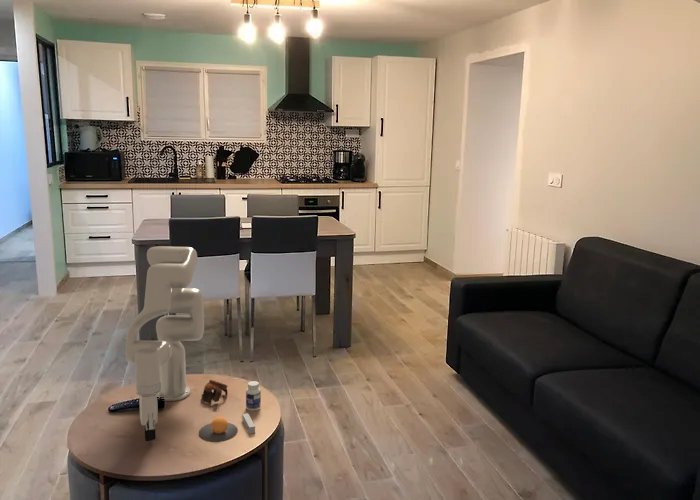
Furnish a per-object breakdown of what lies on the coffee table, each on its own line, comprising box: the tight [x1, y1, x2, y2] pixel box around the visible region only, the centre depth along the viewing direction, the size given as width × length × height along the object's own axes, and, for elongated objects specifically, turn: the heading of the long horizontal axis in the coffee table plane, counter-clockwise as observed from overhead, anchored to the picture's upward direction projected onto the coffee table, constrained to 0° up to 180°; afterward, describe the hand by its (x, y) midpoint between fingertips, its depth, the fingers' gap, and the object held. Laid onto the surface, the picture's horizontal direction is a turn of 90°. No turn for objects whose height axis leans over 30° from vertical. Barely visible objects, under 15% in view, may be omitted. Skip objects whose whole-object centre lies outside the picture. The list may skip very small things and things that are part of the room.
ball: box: [211, 416, 229, 434], centre depth 195 cm, size 6×6×6 cm
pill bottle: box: [245, 380, 262, 411], centre depth 213 cm, size 5×5×10 cm
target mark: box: [198, 422, 239, 443], centre depth 196 cm, size 13×13×1 cm
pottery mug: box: [201, 379, 228, 405], centre depth 219 cm, size 12×10×8 cm
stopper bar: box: [242, 412, 256, 435], centre depth 200 cm, size 10×2×2 cm, turn 24°
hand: (150, 439), depth 187 cm, fingers closed
